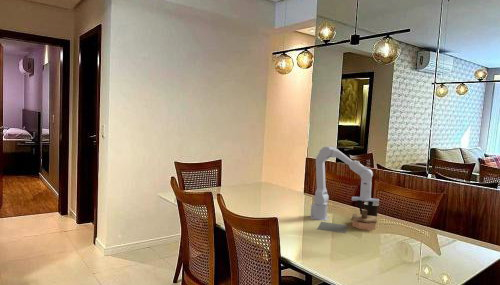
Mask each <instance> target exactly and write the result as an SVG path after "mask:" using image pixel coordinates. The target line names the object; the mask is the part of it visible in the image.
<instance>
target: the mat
mask: <svg viewBox="0 0 500 285" xmlns="http://www.w3.org/2000/svg"><path fill="white" fill-rule="evenodd" d="M348 226H349V225H348V224H341V223H334V222H327V221H320V223H319V225H318V227H317V228H316V230H320V231H325V232H333V233H341V234H347V230H348Z"/></svg>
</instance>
